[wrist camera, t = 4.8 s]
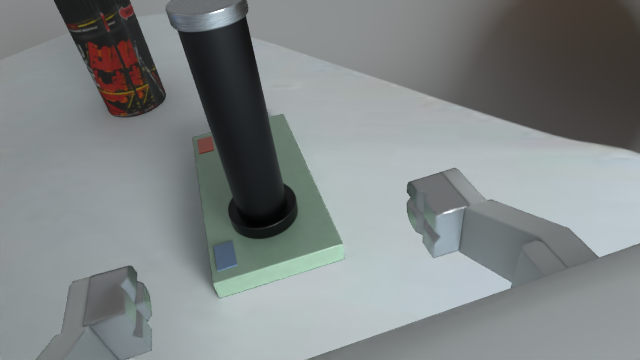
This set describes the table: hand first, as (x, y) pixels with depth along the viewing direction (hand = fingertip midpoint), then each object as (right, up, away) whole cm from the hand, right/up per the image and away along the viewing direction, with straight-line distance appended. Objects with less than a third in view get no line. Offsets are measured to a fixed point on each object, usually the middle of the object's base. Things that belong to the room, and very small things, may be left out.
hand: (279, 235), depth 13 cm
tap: (-3, +1, +18) cm, 18 cm away
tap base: (-3, 0, +20) cm, 21 cm away
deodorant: (-18, +10, +34) cm, 39 cm away
